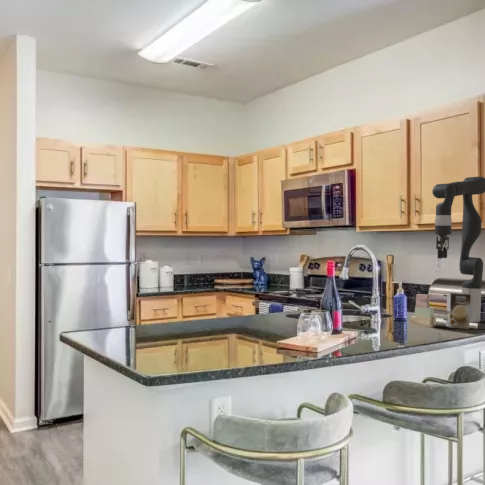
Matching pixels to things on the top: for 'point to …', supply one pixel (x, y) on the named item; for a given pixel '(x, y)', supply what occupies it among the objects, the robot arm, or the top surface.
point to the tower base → (423, 321)
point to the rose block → (422, 300)
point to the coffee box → (458, 310)
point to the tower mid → (424, 312)
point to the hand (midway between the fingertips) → (442, 258)
